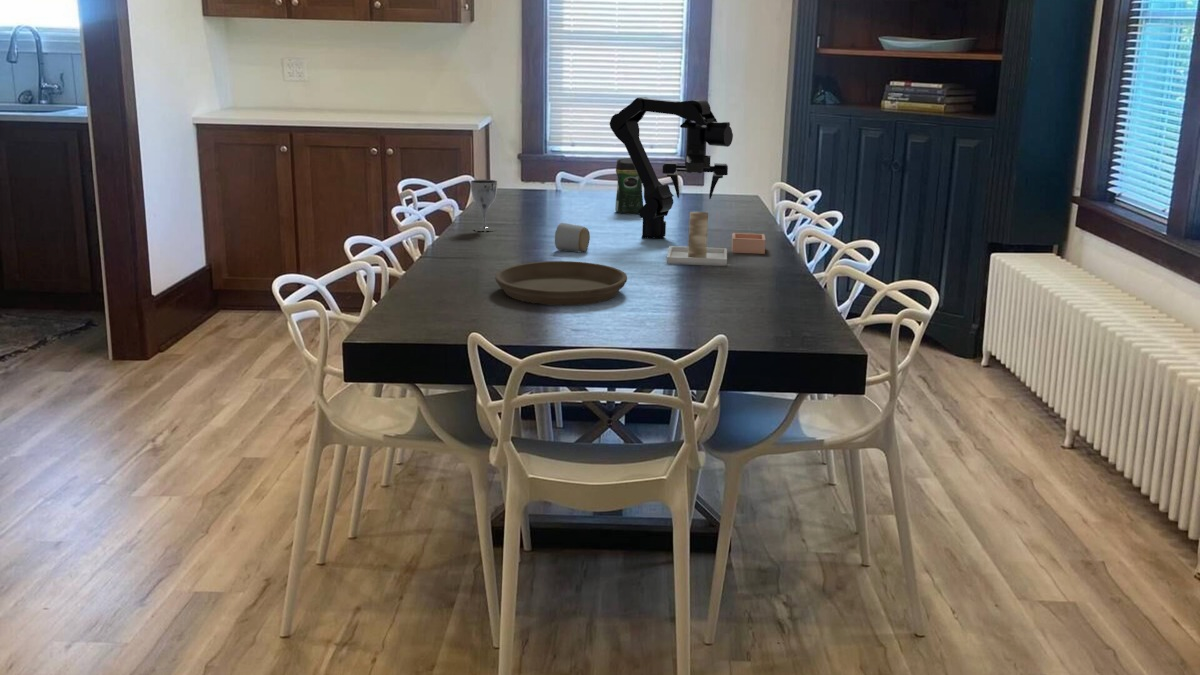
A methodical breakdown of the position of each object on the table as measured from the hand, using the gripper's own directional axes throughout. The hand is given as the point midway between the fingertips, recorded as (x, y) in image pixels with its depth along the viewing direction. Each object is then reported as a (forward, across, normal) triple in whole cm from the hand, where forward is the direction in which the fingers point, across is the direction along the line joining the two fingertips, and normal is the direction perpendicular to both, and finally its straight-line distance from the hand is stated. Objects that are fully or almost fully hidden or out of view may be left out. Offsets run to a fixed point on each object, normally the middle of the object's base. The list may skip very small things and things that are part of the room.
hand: (694, 198), depth 323 cm
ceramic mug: (+13, -33, -18) cm, 40 cm away
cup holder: (+13, +16, -12) cm, 24 cm away
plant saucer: (+14, -29, -71) cm, 78 cm away
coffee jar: (+13, -23, +52) cm, 58 cm away
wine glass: (+13, -64, +8) cm, 66 cm away
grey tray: (+13, +2, -25) cm, 28 cm away
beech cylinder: (+12, +2, -25) cm, 28 cm away
